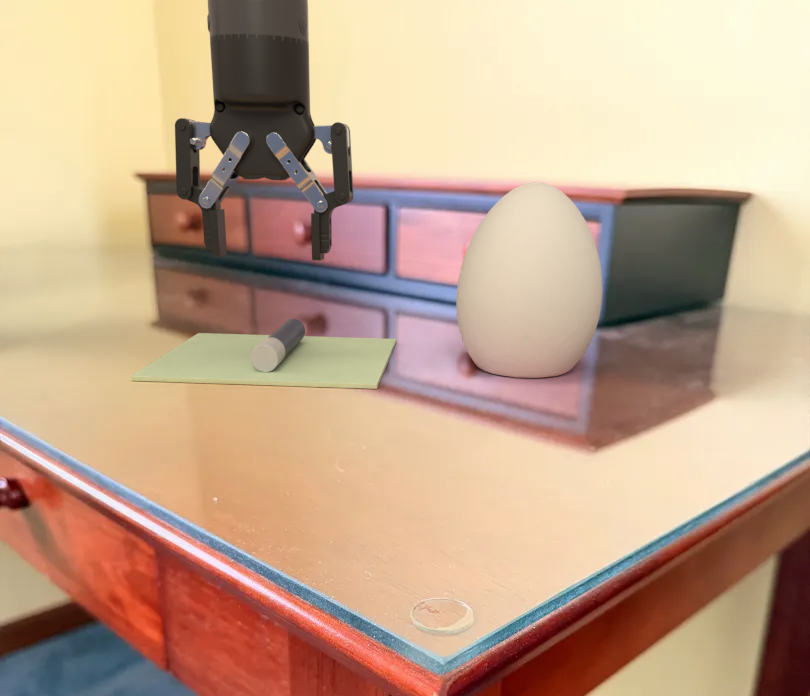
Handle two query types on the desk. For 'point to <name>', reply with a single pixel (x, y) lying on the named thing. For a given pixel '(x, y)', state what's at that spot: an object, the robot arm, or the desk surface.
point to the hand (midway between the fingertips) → (268, 257)
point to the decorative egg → (530, 285)
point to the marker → (277, 345)
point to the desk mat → (303, 366)
